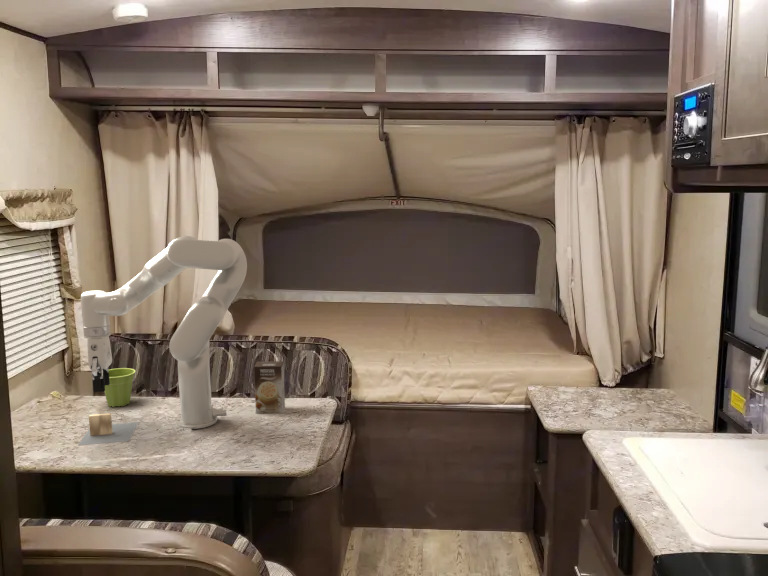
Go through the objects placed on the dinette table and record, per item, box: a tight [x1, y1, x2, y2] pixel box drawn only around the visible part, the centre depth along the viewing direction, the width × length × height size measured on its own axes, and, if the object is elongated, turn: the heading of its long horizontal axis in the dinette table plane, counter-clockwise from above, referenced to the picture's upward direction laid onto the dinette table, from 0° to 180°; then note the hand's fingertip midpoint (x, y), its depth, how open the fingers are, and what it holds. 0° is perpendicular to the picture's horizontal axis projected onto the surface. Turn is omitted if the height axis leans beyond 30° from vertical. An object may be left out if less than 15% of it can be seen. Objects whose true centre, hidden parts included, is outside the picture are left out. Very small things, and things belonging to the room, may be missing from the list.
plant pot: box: [104, 367, 136, 408], centre depth 226 cm, size 12×12×11 cm
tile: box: [88, 412, 113, 436], centre depth 197 cm, size 6×2×6 cm
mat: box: [77, 421, 139, 446], centre depth 198 cm, size 14×16×1 cm
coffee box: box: [253, 361, 286, 415], centre depth 216 cm, size 9×6×16 cm
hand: (101, 387), depth 203 cm, fingers open, 5 cm apart
